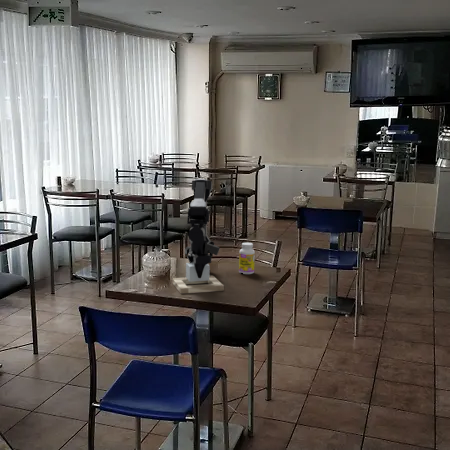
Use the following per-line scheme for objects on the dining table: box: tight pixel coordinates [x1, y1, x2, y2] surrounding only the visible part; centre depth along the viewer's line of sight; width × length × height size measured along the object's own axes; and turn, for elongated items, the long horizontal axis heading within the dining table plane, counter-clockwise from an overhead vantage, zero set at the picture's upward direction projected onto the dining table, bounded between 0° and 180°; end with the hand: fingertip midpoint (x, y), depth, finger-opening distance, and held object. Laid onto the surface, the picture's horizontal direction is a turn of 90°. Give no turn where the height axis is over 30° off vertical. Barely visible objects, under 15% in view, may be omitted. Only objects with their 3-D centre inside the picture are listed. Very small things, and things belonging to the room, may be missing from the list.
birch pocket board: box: [171, 275, 225, 294], centre depth 239 cm, size 15×17×2 cm
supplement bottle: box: [238, 242, 256, 275], centre depth 261 cm, size 7×7×13 cm
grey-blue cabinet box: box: [185, 262, 211, 282], centre depth 238 cm, size 6×8×6 cm
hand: (197, 275), depth 239 cm, fingers closed on grey-blue cabinet box, 6 cm apart
